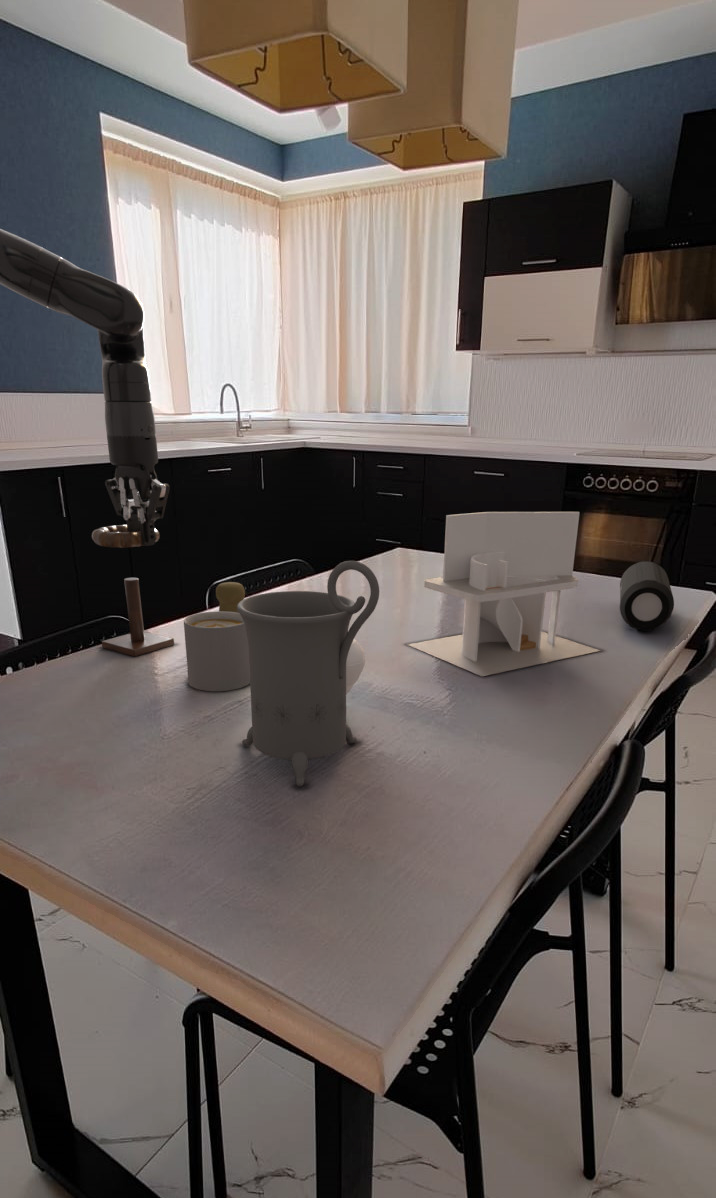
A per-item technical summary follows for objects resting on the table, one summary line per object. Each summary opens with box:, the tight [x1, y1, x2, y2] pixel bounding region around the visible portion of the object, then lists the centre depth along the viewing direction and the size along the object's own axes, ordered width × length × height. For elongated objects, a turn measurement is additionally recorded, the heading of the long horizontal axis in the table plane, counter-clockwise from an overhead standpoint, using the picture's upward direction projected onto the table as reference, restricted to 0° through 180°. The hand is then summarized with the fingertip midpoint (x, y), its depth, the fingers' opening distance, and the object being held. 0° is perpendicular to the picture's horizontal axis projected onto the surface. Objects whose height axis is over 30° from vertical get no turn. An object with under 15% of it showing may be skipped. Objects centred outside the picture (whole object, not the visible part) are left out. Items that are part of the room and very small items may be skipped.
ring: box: [91, 524, 161, 548], centre depth 130 cm, size 11×11×2 cm
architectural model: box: [406, 511, 601, 677], centre depth 136 cm, size 28×21×23 cm
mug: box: [237, 560, 380, 787], centre depth 91 cm, size 19×15×25 cm
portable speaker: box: [619, 560, 675, 632], centre depth 159 cm, size 26×10×10 cm, turn 163°
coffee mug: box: [183, 610, 250, 692], centre depth 122 cm, size 13×10×10 cm
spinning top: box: [346, 638, 366, 695], centre depth 110 cm, size 8×8×12 cm
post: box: [101, 577, 175, 657], centre depth 137 cm, size 9×9×12 cm
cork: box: [215, 581, 246, 613], centre depth 140 cm, size 6×6×11 cm
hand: (142, 543), depth 128 cm, fingers closed on ring, 2 cm apart
